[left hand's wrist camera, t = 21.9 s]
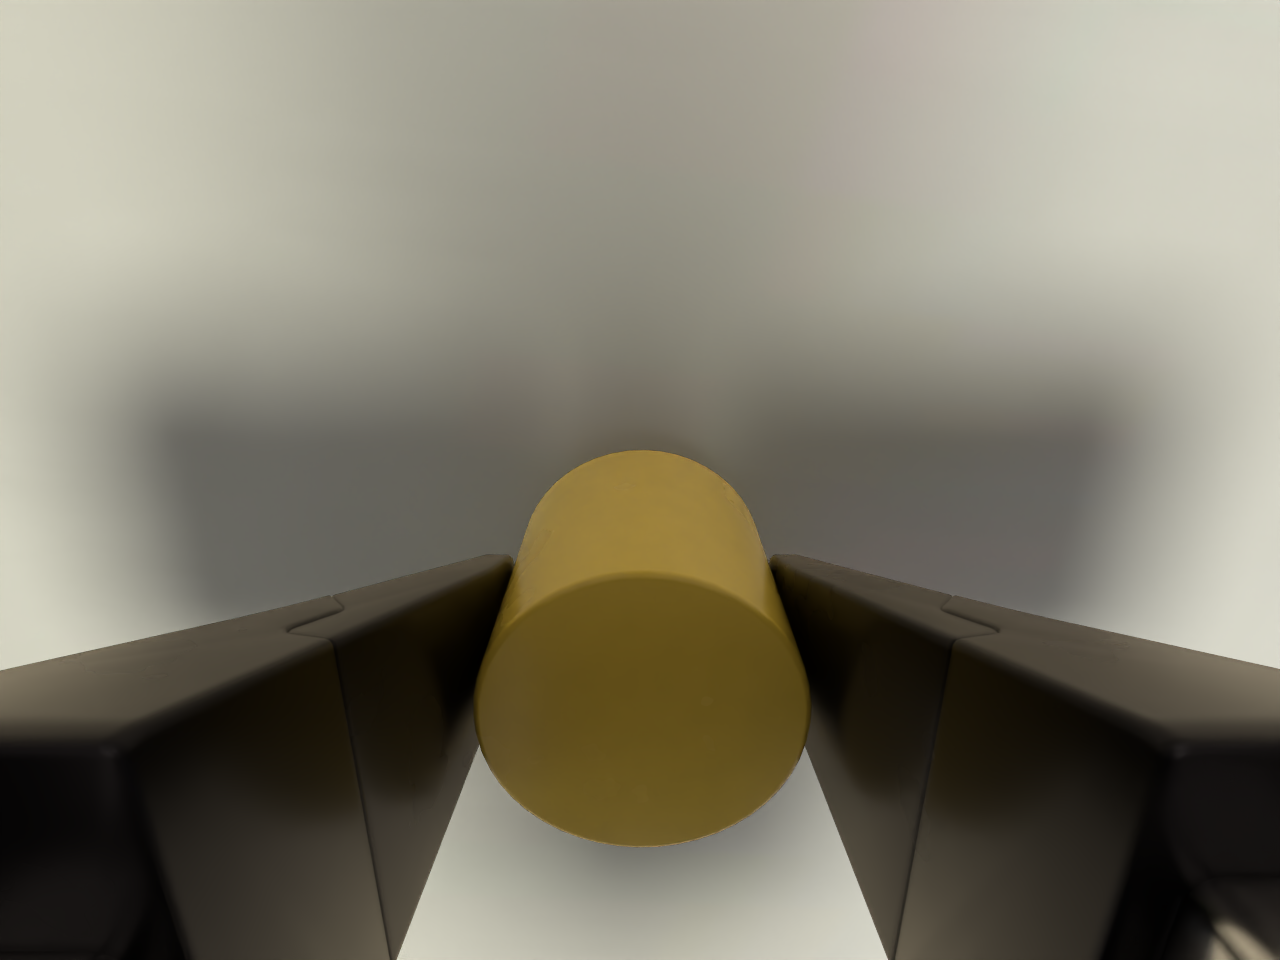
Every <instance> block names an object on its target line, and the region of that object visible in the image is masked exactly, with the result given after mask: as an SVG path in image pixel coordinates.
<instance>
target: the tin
mask: <svg viewBox="0 0 1280 960" xmlns="http://www.w3.org/2000/svg"><path fill="white" fill-rule="evenodd" d="M811 707H812V702H811V693H810V685H809V681H808V677H807V674H806V670H805V667H804V664H803V661H802V658H801V655H800V652H799V649H798V647H797V644H796V641H795V638H794V635H793V632H792V629H791V626H790V623H789V621H788V618H787V615H786V612H785V609H784V606H783V603H782V600H781V598H780V595H779V592H778V589H777V586H776V583H775V580H774V577H773V575H772V572H771V569H770V566H769V563H768V560H767V557H766V554H765V552H764V549H763V546H762V543H761V540H760V537H759V534H758V531H757V529H756V526H755V523H754V521H753V518H752V516H751V514H750V512H749V510H748V508H747V507H746V505H745V503H744V502H743V500H742V499H741V497H740V496H739V495H738V494H737V492H736V491H735V490H734V489H733V488H732V487H731V486H730V485H729V484H728V483H727V482H726V481H725V480H724V479H723V478H721V477H720V476H719V475H717V474H716V473H715V472H713V471H712V470H710V469H709V468H707V467H705V466H703V465H701V464H699V463H697V462H695V461H693V460H691V459H688V458H685V457H682V456H679V455H676V454H671V453H667V452H662V451H652V450H629V451H622V452H616V453H611V454H608V455H604V456H601V457H597V458H595V459H593V460H590V461H588V462H586V463H584V464H581V465H580V466H578V467H576V468H575V469H573V470H571V471H570V472H568V473H567V474H566V475H564V476H563V477H562V478H561V479H559V480H558V481H557V482H556V483H555V484H554V485H553V486H552V487H551V488H550V489H549V490H548V491H547V492H546V493H545V495H544V496H543V498H542V499H541V500H540V502H539V503H538V505H537V506H536V508H535V510H534V512H533V514H532V516H531V518H530V521H529V524H528V527H527V530H526V532H525V535H524V538H523V541H522V544H521V547H520V550H519V553H518V556H517V559H516V562H515V565H514V568H513V571H512V574H511V577H510V580H509V583H508V586H507V589H506V592H505V595H504V598H503V601H502V604H501V607H500V610H499V613H498V616H497V619H496V622H495V625H494V628H493V631H492V634H491V637H490V640H489V643H488V646H487V649H486V652H485V655H484V658H483V661H482V664H481V667H480V670H479V673H478V676H477V679H476V684H475V690H474V696H473V717H474V724H475V730H476V735H477V738H478V741H479V744H480V747H481V751H482V754H483V756H484V758H485V760H486V762H487V764H488V766H489V768H490V770H491V771H492V773H493V774H494V776H495V777H496V779H497V780H498V781H499V783H500V784H501V786H502V787H503V788H504V789H505V790H506V791H507V792H508V793H509V794H510V796H511V797H512V798H513V799H514V800H516V801H517V802H518V803H519V804H520V805H521V806H523V807H524V808H525V809H526V810H527V811H529V812H530V813H532V814H533V815H535V816H536V817H538V818H539V819H541V820H542V821H544V822H546V823H548V824H549V825H551V826H553V827H555V828H557V829H559V830H561V831H564V832H566V833H569V834H572V835H574V836H577V837H579V838H583V839H587V840H590V841H594V842H598V843H603V844H609V845H615V846H626V847H660V846H668V845H676V844H681V843H685V842H690V841H694V840H698V839H701V838H704V837H707V836H710V835H713V834H716V833H718V832H720V831H722V830H725V829H727V828H729V827H731V826H733V825H735V824H737V823H738V822H740V821H742V820H743V819H745V818H747V817H748V816H750V815H751V814H753V813H754V812H755V811H757V810H758V809H759V808H760V807H762V806H763V805H764V804H766V803H767V802H768V801H769V800H770V799H771V798H772V797H773V796H774V795H775V794H776V793H777V792H778V791H779V790H780V788H781V787H782V786H783V784H784V783H785V782H786V780H787V779H788V778H789V777H790V775H791V773H792V772H793V770H794V768H795V766H796V765H797V763H798V761H799V759H800V757H801V754H802V751H803V749H804V746H805V744H806V741H807V736H808V732H809V727H810V723H811Z"/></svg>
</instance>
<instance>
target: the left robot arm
mask: <svg viewBox="0 0 1280 960" xmlns="http://www.w3.org/2000/svg"><path fill="white" fill-rule="evenodd" d="M769 566H770V569H771V572H772V575H773V577H774V580H775V583H776V586H777V589H778V592H779V595H780V598H781V600H782V603H783V606H784V609H785V612H786V615H787V618H788V621H789V623H790V626H791V629H792V632H793V635H794V638H795V641H796V644H797V647H798V649H799V652H800V655H801V658H802V661H803V664H804V667H805V670H806V674H807V677H808V681H809V685H810V693H811V702H812V707H811V723H810V727H809V732H808V736H807V741H806V744H805V747H806V750H807V752H808V755H809V757H810V760H811V763H812V765H813V768H814V770H815V773H816V775H817V778H818V781H819V783H820V786H821V788H822V791H823V793H824V796H825V799H826V801H827V804H828V806H829V809H830V811H831V814H832V817H833V819H834V822H835V824H836V827H837V829H838V832H839V835H840V837H841V840H842V842H843V845H844V847H845V850H846V853H847V855H848V858H849V860H850V863H851V865H852V868H853V870H854V873H855V876H856V878H857V881H858V883H859V886H860V888H861V891H862V894H863V896H864V899H865V901H866V904H867V906H868V909H869V912H870V914H871V917H872V919H873V922H874V924H875V927H876V930H877V932H878V935H879V937H880V940H881V942H882V945H883V948H884V950H885V953H886V955H887V958H888V960H1280V669H1277V668H1273V667H1268V666H1263V665H1259V664H1254V663H1250V662H1245V661H1241V660H1236V659H1232V658H1227V657H1223V656H1218V655H1214V654H1209V653H1205V652H1200V651H1195V650H1191V649H1186V648H1182V647H1177V646H1173V645H1168V644H1164V643H1159V642H1155V641H1150V640H1146V639H1141V638H1137V637H1132V636H1127V635H1123V634H1118V633H1114V632H1109V631H1105V630H1100V629H1096V628H1091V627H1087V626H1082V625H1078V624H1073V623H1069V622H1064V621H1060V620H1055V619H1050V618H1046V617H1042V616H1037V615H1033V614H1029V613H1025V612H1020V611H1016V610H1012V609H1007V608H1003V607H999V606H995V605H991V604H987V603H983V602H979V601H975V600H971V599H968V598H964V597H960V596H953V597H952V596H951V595H948V594H945V593H941V592H937V591H933V590H929V589H926V588H922V587H918V586H914V585H910V584H906V583H903V582H899V581H895V580H891V579H887V578H884V577H880V576H876V575H872V574H868V573H864V572H861V571H857V570H853V569H849V568H845V567H842V566H838V565H834V564H830V563H826V562H822V561H819V560H815V559H811V558H807V557H803V556H800V555H773V556H772V557H771V559H770V563H769ZM513 568H514V563H513V559H512V557H511V556H510V555H484V556H480V557H476V558H472V559H468V560H465V561H461V562H457V563H453V564H449V565H446V566H442V567H438V568H434V569H431V570H427V571H423V572H419V573H415V574H412V575H408V576H404V577H400V578H397V579H393V580H389V581H385V582H381V583H378V584H374V585H370V586H366V587H362V588H359V589H355V590H351V591H347V592H344V593H340V594H336V595H333V596H332V597H331V596H325V597H321V598H317V599H313V600H309V601H305V602H301V603H297V604H293V605H289V606H285V607H281V608H277V609H273V610H269V611H265V612H260V613H256V614H252V615H248V616H243V617H239V618H235V619H230V620H226V621H221V622H217V623H212V624H208V625H203V626H199V627H194V628H190V629H185V630H181V631H176V632H172V633H167V634H163V635H158V636H154V637H149V638H145V639H140V640H136V641H131V642H127V643H122V644H118V645H113V646H109V647H104V648H100V649H95V650H91V651H86V652H82V653H77V654H73V655H68V656H64V657H59V658H55V659H50V660H46V661H41V662H37V663H32V664H28V665H23V666H19V667H14V668H10V669H5V670H1V671H0V960H397V957H398V954H399V952H400V949H401V947H402V944H403V941H404V939H405V936H406V934H407V931H408V928H409V926H410V923H411V921H412V918H413V915H414V913H415V910H416V908H417V905H418V902H419V900H420V897H421V894H422V892H423V889H424V887H425V884H426V881H427V879H428V876H429V874H430V871H431V868H432V866H433V863H434V861H435V858H436V855H437V853H438V850H439V848H440V845H441V842H442V840H443V837H444V835H445V832H446V829H447V827H448V824H449V822H450V819H451V816H452V814H453V811H454V809H455V806H456V803H457V801H458V798H459V796H460V793H461V790H462V788H463V785H464V783H465V780H466V777H467V775H468V772H469V770H470V767H471V764H472V762H473V759H474V757H475V754H476V751H477V749H478V746H479V741H478V738H477V735H476V730H475V724H474V717H473V696H474V690H475V684H476V679H477V676H478V673H479V670H480V667H481V664H482V661H483V658H484V655H485V652H486V649H487V646H488V643H489V640H490V637H491V634H492V631H493V628H494V625H495V622H496V619H497V616H498V613H499V610H500V607H501V604H502V601H503V598H504V595H505V592H506V589H507V586H508V583H509V580H510V577H511V574H512V571H513Z"/></svg>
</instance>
